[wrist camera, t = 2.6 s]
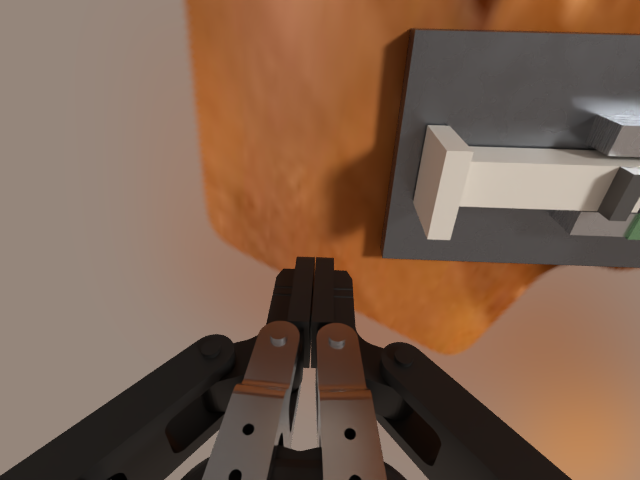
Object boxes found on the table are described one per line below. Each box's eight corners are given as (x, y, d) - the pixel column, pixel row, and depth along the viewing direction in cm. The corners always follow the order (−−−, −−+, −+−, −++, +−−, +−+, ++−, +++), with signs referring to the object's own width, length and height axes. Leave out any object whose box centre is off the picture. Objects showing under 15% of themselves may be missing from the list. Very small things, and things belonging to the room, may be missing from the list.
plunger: (427, 124, 23) (446, 150, 19) (640, 131, 22) (706, 158, 18) (413, 202, 26) (427, 239, 22) (600, 209, 26) (649, 247, 22)
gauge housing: (410, 28, 21) (447, 40, 14) (822, 38, 21) (1073, 55, 14) (380, 247, 30) (394, 322, 23) (668, 258, 30) (773, 337, 23)
